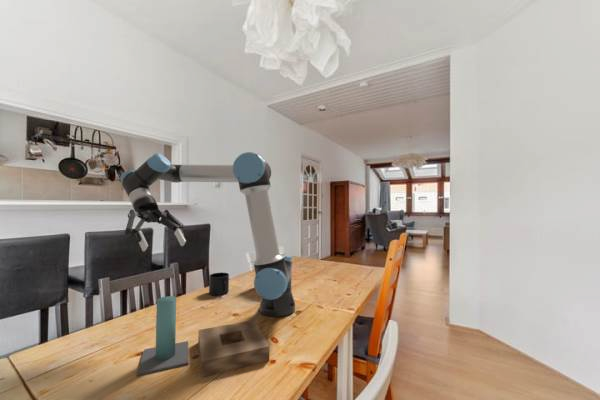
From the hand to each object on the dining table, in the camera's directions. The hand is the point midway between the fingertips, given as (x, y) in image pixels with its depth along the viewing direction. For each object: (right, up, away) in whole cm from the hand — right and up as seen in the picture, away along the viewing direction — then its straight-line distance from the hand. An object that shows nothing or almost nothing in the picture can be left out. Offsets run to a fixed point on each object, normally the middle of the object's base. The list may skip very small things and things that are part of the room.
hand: (166, 246), depth 87 cm
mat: (+8, -29, -15) cm, 34 cm away
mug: (+6, -31, +39) cm, 51 cm away
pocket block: (+26, -30, -11) cm, 41 cm away
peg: (+8, -29, -15) cm, 33 cm away
